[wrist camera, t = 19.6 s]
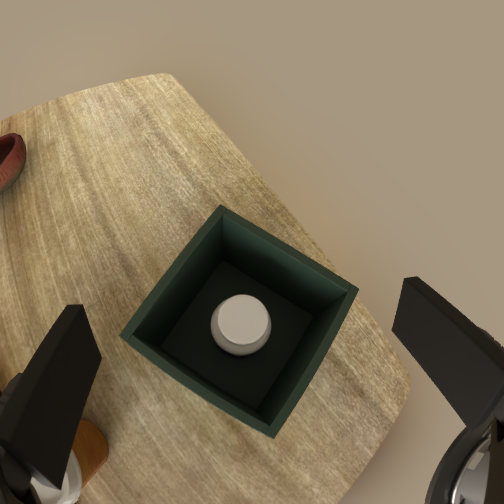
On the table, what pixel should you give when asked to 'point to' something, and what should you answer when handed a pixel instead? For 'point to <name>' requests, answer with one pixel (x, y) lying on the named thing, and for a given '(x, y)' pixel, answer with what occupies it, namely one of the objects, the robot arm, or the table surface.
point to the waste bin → (224, 287)
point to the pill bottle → (240, 326)
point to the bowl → (11, 159)
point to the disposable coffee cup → (77, 465)
